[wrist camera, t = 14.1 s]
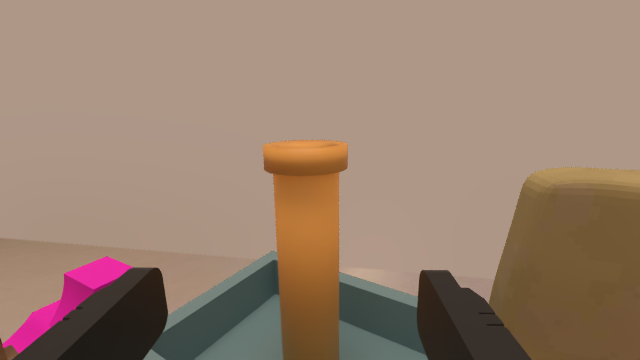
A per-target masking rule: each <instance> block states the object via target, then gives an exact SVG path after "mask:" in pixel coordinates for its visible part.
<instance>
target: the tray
mask: <svg viewBox="0 0 640 360" xmlns="http://www.w3.org/2000/svg"><path fill="white" fill-rule="evenodd" d="M417 303H418V297H416V296H413V295H410V294H407V293H404V292H401V291H398V290H394V289H391V288H388V287H385V286H382V285H379V284H375V283H372V282H369V281H366V280H363V279H360V278H357V277H353V276H350V275H347V274H344V273H341V272H339V360H428V358H427V356H426V353H425V350H424V348H423V345H422V342H421V340H420V337H419V333H418V328H417ZM143 360H283V353H282V334H281V314H280V295H279V276H278V256H277V252H275V251H271V252H270V253H268V254H266V255H265V256H263V257H262V258H260V259H258V260H257V261H255V262H253V263H252V264H250V265H249V266H247V267H245V268H244V269H242V270H240V271H239V272H237V273H236V274H234V275H232V276H231V277H229V278H228V279H226V280H224V281H223V282H221V283H219V284H218V285H216V286H215V287H213V288H211V289H210V290H208V291H207V292H205V293H203V294H202V295H200V296H198V297H197V298H195V299H194V300H192V301H190V302H189V303H187V304H186V305H184V306H182V307H181V308H179V309H177V310H176V311H174V312H173V313H171V314H169V315H168V318H167V323H166V326H165V329H164V331H163V333H162V334H161V336H160V337H159V338H158V340H157V341H156V343H155V344H154V345H153V347H152V348H151V350H150V351H149V352H148V354H147V355H146V357H145V358H144V359H143Z"/></svg>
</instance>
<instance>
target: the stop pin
mask: <svg viewBox="0 0 640 360" xmlns="http://www.w3.org/2000/svg"><path fill="white" fill-rule="evenodd" d="M347 150H348V144H347V143H344V142H339V141H329V140H297V141H296V140H295V141H282V142H274V143H268V144H265V145H263V156H264V170H265V171H267V172H269V173H273V179H274V198H275V217H276V237H277V256H278V276H279V295H280V314H281V334H282V353H283V360H339V172H341V171H344V170H345V169H347V158H348V156H347V155H348V151H347Z"/></svg>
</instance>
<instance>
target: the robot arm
mask: <svg viewBox="0 0 640 360" xmlns="http://www.w3.org/2000/svg"><path fill="white" fill-rule="evenodd" d="M167 318H168V309H167V303H166V297H165V290H164V284H163V277H162V273H161V271H160V269H158V268H130V269H129V270H127V271H126V272H125V273H124V274H122V275H121V276H120V277H119V278H118V279H116V280H115V281H114V282H113V283H112V284H110V285H108V286H106V287H105V288H103V289H101V290H99V291H97V292H95V293H93V294H91V295H90V296H89V297H88V298H87V299H85V300H84V301H83V302H82V303H80V304H79V305H78V306H77V307H76V309H75V310H72V311H71V312H69V313H68V314H67V315H66V316H64V317H63V320H62V321H58V322H57V323H56V324H55V325H53V326H52V327H51V328H50V329H48V330H47V331H46V332H45V333H44V334H42V335H41V336H40V337H39V338H37V339H36V340H35V341H34V342H33V343H31V344H30V345H29V346H28V347H26V348H25V349H24V350H23V351H22V352H20V353H19V354H18V355H17V356H15V357H14V358H13V359H12V360H143V359H144V358H145V357H146V355H147V354H148V352H149V351H150V350H151V348H152V347H153V345H154V344H155V343H156V341H157V340H158V338H159V337H160V336H161V334H162V333H163V331H164V329H165V326H166V323H167ZM417 328H418V333H419V337H420V340H421V342H422V345H423V348H424V350H425V353H426V356H427V358H428V360H532V359H531V358H530V357H529V356H528V354H527V353H526V352H525V350H524V349H523V348H522V347H521V345H520V344H519V343H518V341H517V340H516V339H515V338H514V336H513V335H512V334H511V332H510V331H509V330H508V329H507V327H504V323H503V322H502V321H501V320H500V318H499V317H498V316H497V315H495V312H494V311H493V309H492V308H491V307H490V305H489V304H488V303H487V302H486V300H485V299H484V298H482V297H481V296H479V295H478V294H477V293H475V292H474V291H472V290H471V289H469V288H461V287H460V286H459V285H458V283H457V282H456V280H455V279H454V277H453V276H452V275H451V273H450V272H449V271H447V270H422V271H421V273H420V278H419V291H418V303H417Z"/></svg>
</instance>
